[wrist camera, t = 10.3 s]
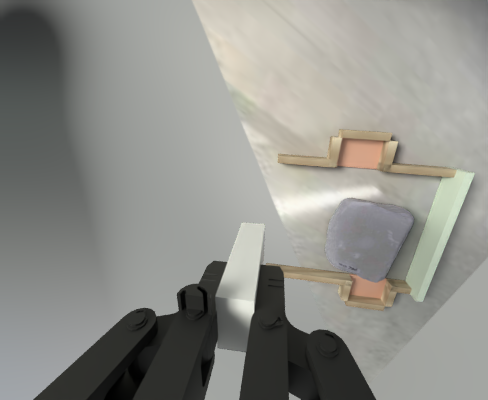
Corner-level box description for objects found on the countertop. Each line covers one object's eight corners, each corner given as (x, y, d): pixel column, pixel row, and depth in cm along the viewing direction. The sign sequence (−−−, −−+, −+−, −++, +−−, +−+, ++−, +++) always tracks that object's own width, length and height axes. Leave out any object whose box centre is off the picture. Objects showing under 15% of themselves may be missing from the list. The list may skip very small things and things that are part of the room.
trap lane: (281, 125, 32) (282, 125, 29) (464, 137, 30) (488, 139, 26) (263, 286, 41) (262, 300, 38) (402, 305, 39) (414, 322, 36)
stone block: (348, 199, 30) (426, 217, 29) (338, 189, 34) (405, 204, 33) (319, 273, 34) (387, 290, 33) (314, 255, 38) (374, 270, 37)
